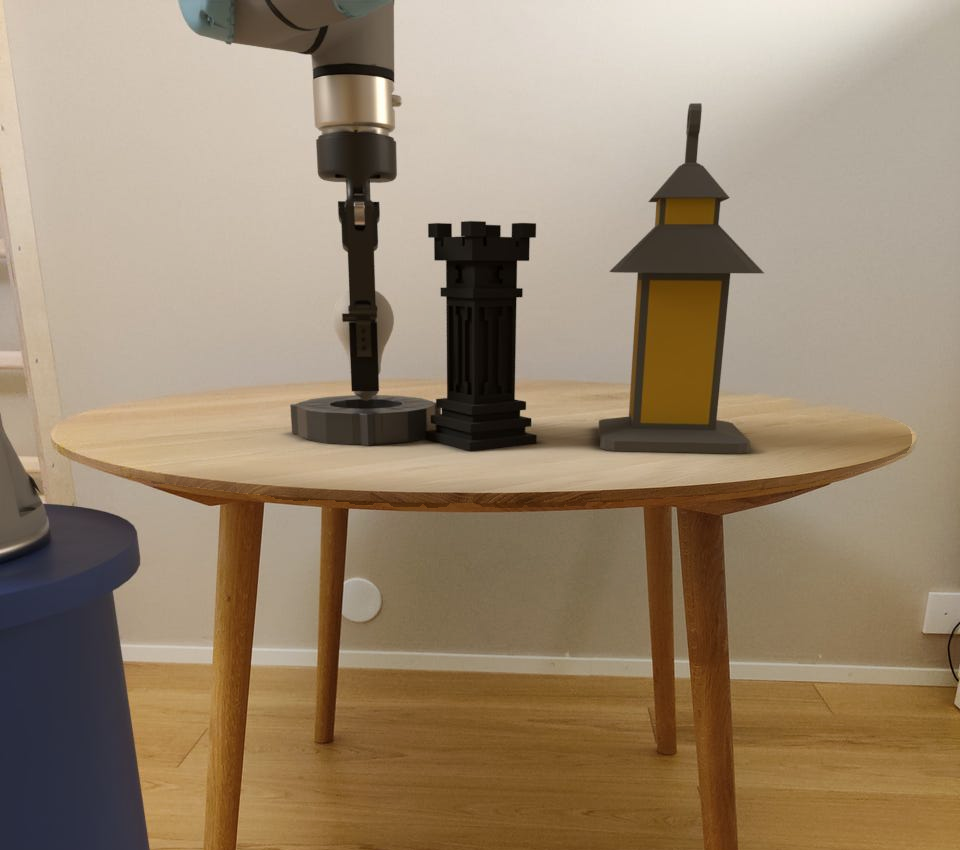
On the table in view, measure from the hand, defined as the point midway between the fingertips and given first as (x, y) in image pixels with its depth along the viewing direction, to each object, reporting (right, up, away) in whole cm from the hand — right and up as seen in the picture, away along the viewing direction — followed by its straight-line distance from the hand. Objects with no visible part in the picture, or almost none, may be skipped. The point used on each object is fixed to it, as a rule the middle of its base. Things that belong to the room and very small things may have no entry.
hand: (364, 386), depth 98 cm
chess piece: (+12, -6, -2) cm, 14 cm away
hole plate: (0, -4, +2) cm, 5 cm away
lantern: (+31, -6, -1) cm, 32 cm away
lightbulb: (0, -1, +1) cm, 2 cm away
